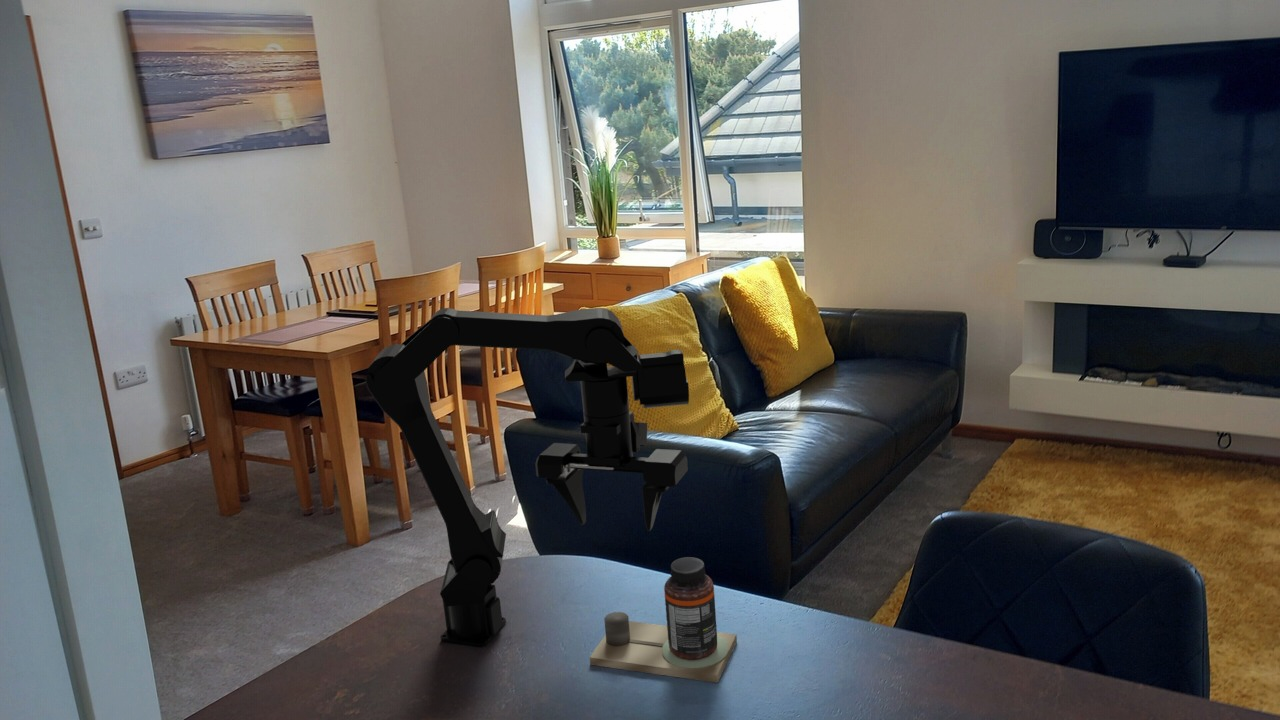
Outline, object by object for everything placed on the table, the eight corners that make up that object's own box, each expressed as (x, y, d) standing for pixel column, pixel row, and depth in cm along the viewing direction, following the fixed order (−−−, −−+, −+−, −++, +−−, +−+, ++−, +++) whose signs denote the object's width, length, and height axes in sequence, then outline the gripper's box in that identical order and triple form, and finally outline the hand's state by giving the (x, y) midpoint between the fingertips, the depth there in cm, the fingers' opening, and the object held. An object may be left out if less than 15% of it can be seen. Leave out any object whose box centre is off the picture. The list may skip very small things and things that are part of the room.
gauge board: (590, 664, 119) (587, 635, 118) (616, 626, 127) (614, 598, 126) (717, 682, 113) (715, 652, 112) (736, 641, 121) (735, 612, 120)
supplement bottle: (679, 632, 122) (673, 549, 119) (724, 639, 120) (720, 555, 117) (661, 657, 117) (654, 572, 114) (707, 666, 115) (702, 578, 112)
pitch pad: (653, 663, 116) (653, 662, 116) (673, 628, 124) (673, 627, 123) (718, 672, 114) (718, 671, 113) (735, 636, 121) (735, 635, 121)
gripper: (696, 394, 126) (703, 506, 130) (564, 389, 132) (574, 496, 136) (669, 422, 116) (678, 543, 120) (527, 415, 122) (540, 530, 126)
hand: (616, 526), depth 126 cm, fingers open, 9 cm apart
